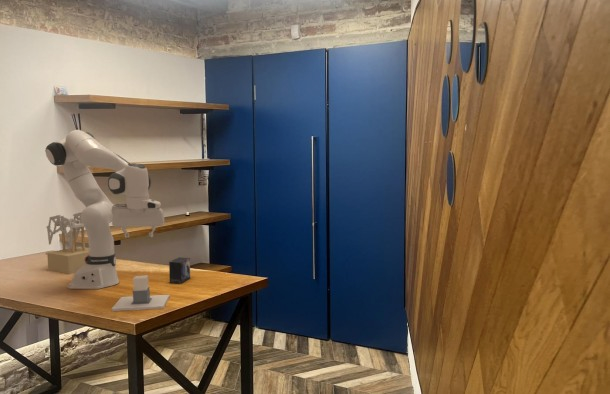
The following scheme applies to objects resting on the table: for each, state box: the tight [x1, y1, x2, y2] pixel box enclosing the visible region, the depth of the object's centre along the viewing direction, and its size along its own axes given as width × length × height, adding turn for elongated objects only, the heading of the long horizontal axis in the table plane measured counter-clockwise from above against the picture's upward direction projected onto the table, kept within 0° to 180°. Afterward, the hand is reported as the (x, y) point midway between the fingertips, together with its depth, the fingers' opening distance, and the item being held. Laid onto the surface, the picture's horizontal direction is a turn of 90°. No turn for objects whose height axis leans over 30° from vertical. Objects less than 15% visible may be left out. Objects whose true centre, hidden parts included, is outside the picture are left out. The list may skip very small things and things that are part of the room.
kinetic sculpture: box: [45, 212, 89, 275], centre depth 265 cm, size 25×20×30 cm
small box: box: [168, 257, 191, 284], centre depth 239 cm, size 11×6×10 cm, turn 168°
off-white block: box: [132, 274, 150, 291], centre depth 202 cm, size 5×5×5 cm
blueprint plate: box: [111, 294, 171, 312], centre depth 203 cm, size 20×16×1 cm
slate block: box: [132, 286, 151, 303], centre depth 203 cm, size 6×6×5 cm
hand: (139, 237), depth 201 cm, fingers open, 8 cm apart
